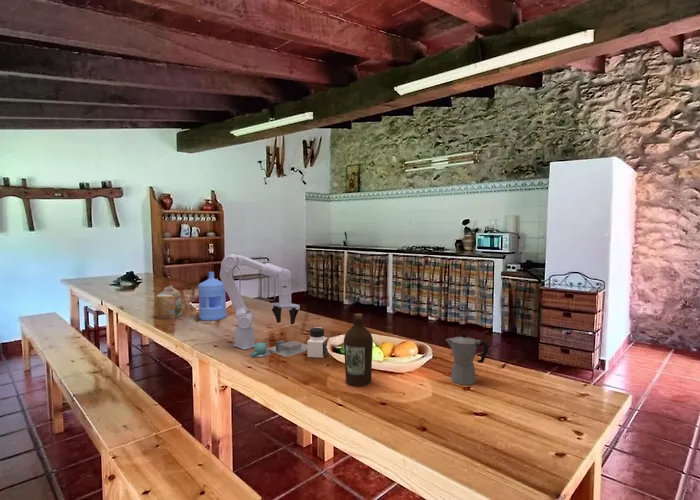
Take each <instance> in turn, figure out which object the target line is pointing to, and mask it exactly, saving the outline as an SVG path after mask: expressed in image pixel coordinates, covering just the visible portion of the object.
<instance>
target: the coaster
mask: <svg viewBox="0 0 700 500" xmlns="http://www.w3.org/2000/svg"><path fill="white" fill-rule="evenodd" d="M254 352H255V350H253V351H251V352H249V356H250V357H252V358H265V357H268V356H270V355H271V354H272V352H270V351H268V350H267V349H266V353H265V354H263V355H256V356H252V353H254Z"/></svg>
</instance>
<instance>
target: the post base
mask: <svg viewBox="0 0 700 500" xmlns="http://www.w3.org/2000/svg"><path fill="white" fill-rule="evenodd" d="M266 350H268V351H270V352H271V353H274V354H277V355H279V356H281V357H285V358H288V357H291V356H294V355H299V354H301V353H304V352H307V343H302V342H300V341H296V340H290V341H286V340H284V339H282V340H278V341H276V342H275V346H272V347H266Z"/></svg>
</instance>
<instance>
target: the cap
mask: <svg viewBox="0 0 700 500" xmlns="http://www.w3.org/2000/svg"><path fill="white" fill-rule="evenodd" d="M253 348H254V350H253V351H255V352H254V353H252V356H256V355H263V354H265V353H266V350H267V343H266V342H256V343H254V347H253ZM252 356H251V357H252Z"/></svg>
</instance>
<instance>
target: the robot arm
mask: <svg viewBox="0 0 700 500" xmlns="http://www.w3.org/2000/svg"><path fill="white" fill-rule="evenodd" d="M244 266H246V267H249V268H252V269H255V270H258V271H260V272H262V274H263V275H264V276H267V277H270V278H273V279H275V280H277V279H278V302H272V303H270V304H271V311H272V313H273V315H274V317H275V320H276V323H277V324H279V323H281V322H282V321H281V320H282V317H281V316H282V309H289V310H288V312H289V317H290V318H289V319H290V325H294V324H295V321H296V319H297V315H298V313H299V311H300V308H301V307H300V304H296V303H292V283H291V282H292V281H291V279H292V274H291V270H289V269H287V268H285V267H282V266H277V265H275V264H274V263H273V262H270V263H269V262H268V263H267V262H266V263H261V262H259V261H257V260H254V259H251V258H249V257H247V256H244V255H241V254H238V253H237V254H236V253H235V252H234V253H229V254H228V255H225V256H224V257H223V259H222V261H221V262H220V271H219V279H220V281H221V282H222V283H223V285H224V287H225V292H226V294H227V295H228V298H229V300H230V301H231V304H232V307H233V309H234V311H235V316H236V319H237V327H236V328H235V329H234V333H233V334H234V337H233V338H234V343H233V344H232V347H236V348H238V349H240V350H248V349H252V348H254V344H255V325H254V324H253V322H254V319H255V317H254V314H253V313H252V312H251V311H250V310H249V308H248V307H247V306H246V304H245V302H244V300H243V298H242V296H241V294H240V291H239V288H238V287H237V285H236V282H235V280H234V278H233V276H232V275H233V273H234V271H235V270H236V268H237V267H244Z"/></svg>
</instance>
